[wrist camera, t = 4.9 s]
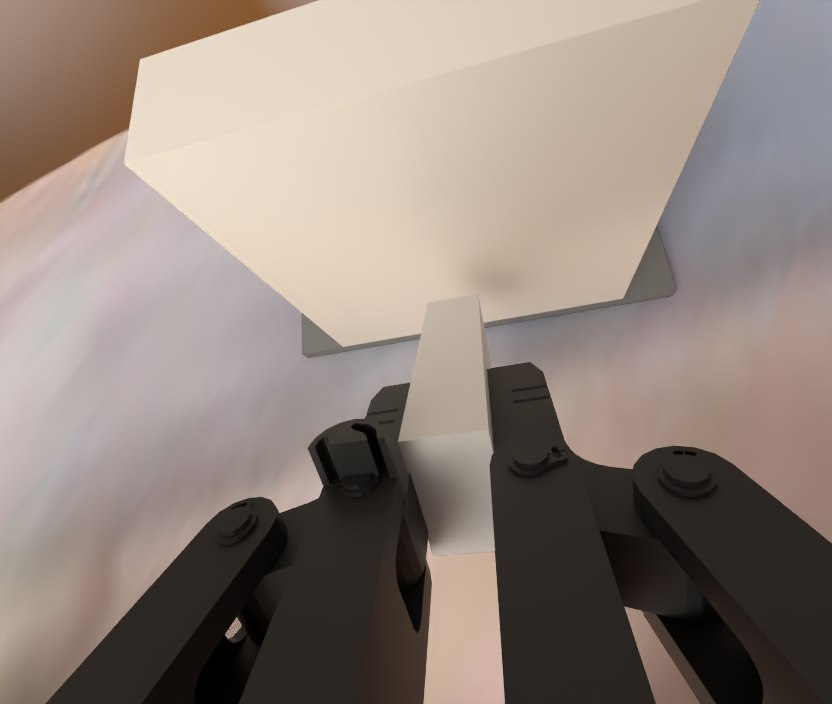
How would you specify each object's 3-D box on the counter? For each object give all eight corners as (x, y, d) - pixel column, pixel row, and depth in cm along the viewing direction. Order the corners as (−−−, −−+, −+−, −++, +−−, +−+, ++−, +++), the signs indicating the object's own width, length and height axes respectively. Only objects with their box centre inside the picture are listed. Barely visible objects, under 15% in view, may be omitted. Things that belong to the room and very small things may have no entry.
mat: (591, 35, 23) (592, 24, 23) (672, 295, 18) (676, 289, 18) (305, 115, 26) (300, 107, 26) (308, 357, 21) (302, 353, 21)
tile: (604, 229, 19) (704, -139, 8) (623, 298, 18) (768, -18, 7) (340, 282, 22) (141, 50, 11) (343, 346, 20) (123, 163, 9)
